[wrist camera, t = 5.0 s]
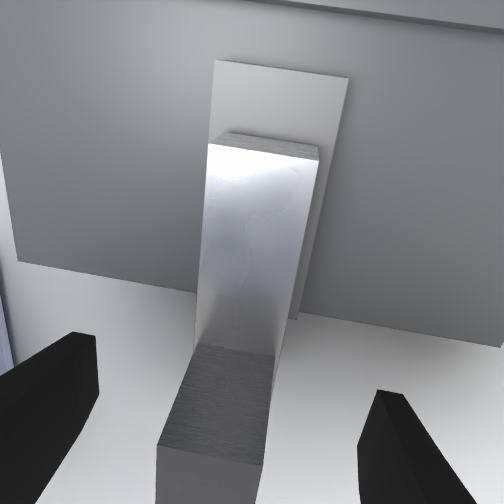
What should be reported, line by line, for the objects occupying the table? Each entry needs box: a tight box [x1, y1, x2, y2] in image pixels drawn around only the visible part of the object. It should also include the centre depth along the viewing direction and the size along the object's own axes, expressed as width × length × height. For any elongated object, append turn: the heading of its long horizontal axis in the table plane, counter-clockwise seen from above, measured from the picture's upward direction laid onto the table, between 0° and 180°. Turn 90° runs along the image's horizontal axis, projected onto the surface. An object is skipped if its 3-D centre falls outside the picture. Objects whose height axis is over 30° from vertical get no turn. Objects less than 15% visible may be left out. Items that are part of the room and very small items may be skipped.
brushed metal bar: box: [155, 132, 319, 504], centre depth 9 cm, size 9×2×4 cm, turn 173°
